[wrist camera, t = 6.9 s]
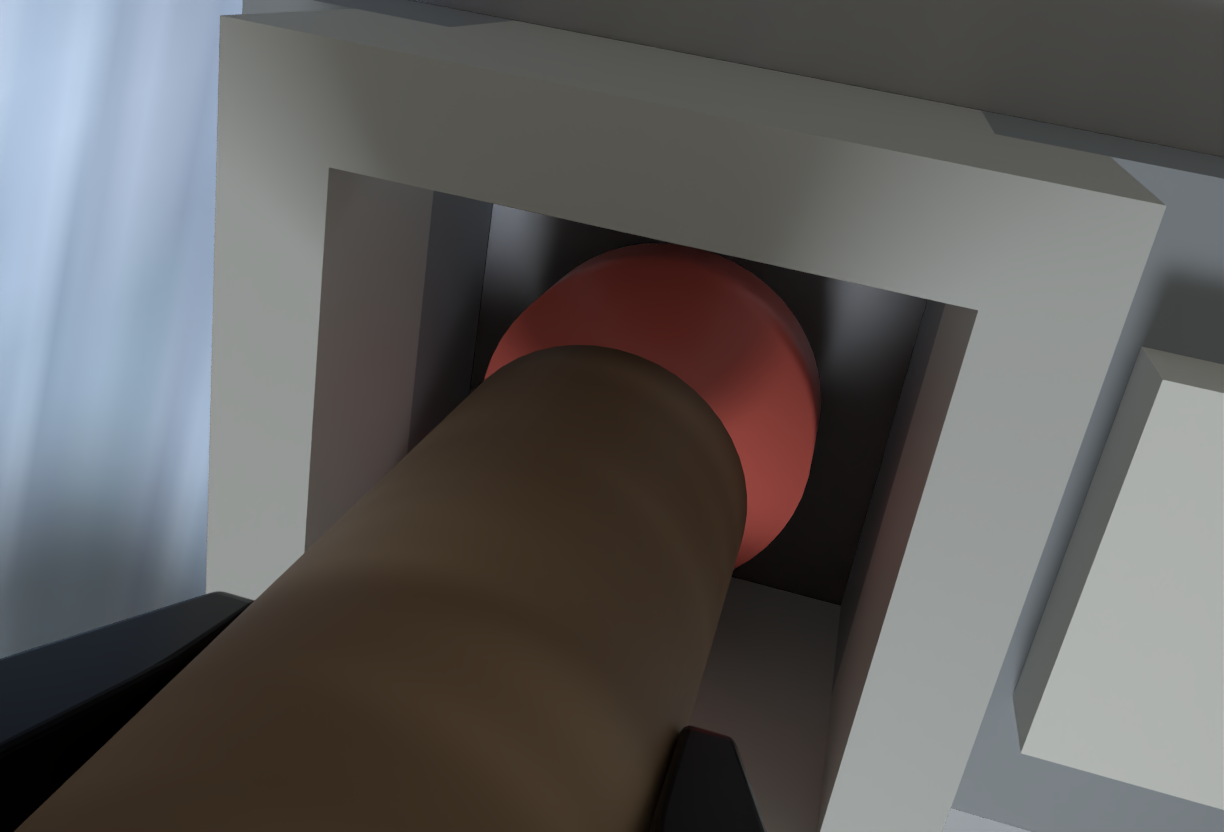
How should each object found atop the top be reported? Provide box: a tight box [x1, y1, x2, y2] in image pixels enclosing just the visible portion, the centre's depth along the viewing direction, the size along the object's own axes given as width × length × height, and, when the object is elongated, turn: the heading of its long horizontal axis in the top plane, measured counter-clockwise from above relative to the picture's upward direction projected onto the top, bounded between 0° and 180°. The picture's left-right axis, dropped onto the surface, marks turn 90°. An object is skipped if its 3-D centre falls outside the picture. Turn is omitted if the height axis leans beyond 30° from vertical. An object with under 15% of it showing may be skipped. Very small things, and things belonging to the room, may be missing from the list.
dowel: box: [14, 345, 747, 832], centre depth 8 cm, size 4×4×10 cm
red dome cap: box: [484, 243, 821, 569], centre depth 16 cm, size 4×4×2 cm
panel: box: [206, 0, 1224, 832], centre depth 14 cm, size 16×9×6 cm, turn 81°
